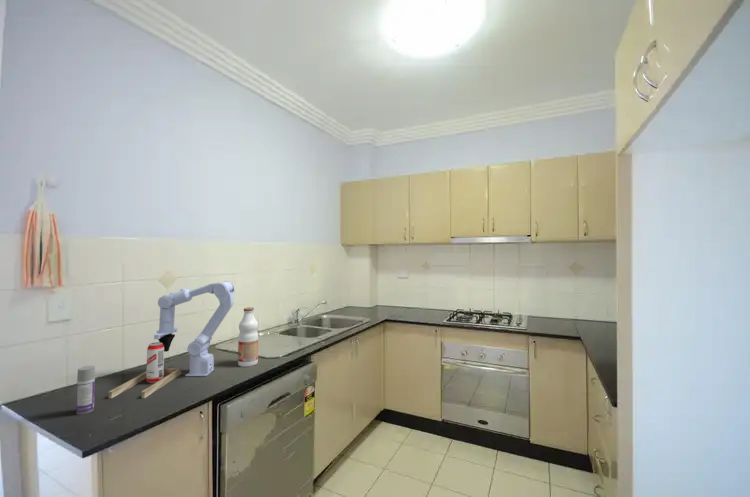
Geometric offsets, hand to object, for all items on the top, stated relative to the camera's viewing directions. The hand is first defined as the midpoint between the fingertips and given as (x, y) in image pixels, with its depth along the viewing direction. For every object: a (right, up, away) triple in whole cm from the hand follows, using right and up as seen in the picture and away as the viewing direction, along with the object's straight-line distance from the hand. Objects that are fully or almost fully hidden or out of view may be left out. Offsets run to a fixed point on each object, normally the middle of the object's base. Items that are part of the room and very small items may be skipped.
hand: (165, 351), depth 150 cm
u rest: (+1, -10, -13) cm, 17 cm away
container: (-5, -10, -35) cm, 37 cm away
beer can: (+1, -11, -8) cm, 13 cm away
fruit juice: (+32, -11, +15) cm, 37 cm away
